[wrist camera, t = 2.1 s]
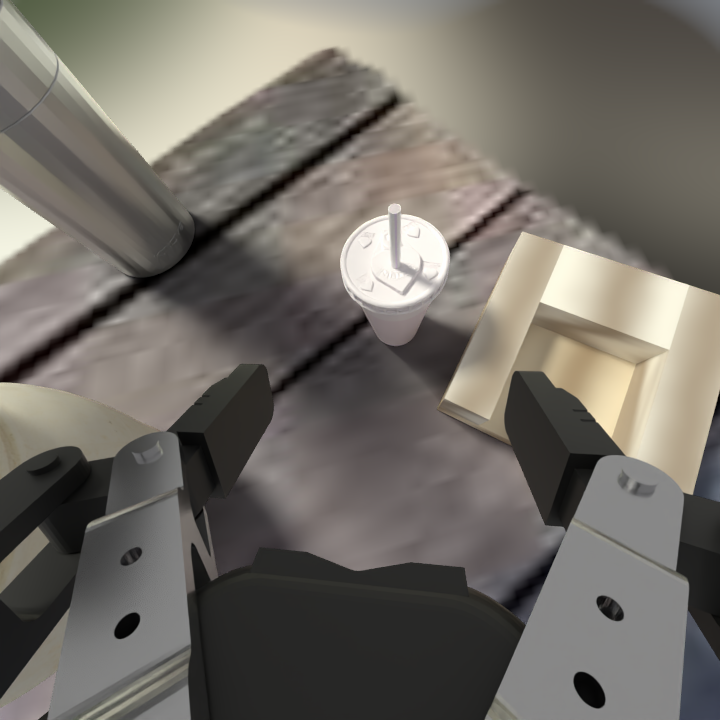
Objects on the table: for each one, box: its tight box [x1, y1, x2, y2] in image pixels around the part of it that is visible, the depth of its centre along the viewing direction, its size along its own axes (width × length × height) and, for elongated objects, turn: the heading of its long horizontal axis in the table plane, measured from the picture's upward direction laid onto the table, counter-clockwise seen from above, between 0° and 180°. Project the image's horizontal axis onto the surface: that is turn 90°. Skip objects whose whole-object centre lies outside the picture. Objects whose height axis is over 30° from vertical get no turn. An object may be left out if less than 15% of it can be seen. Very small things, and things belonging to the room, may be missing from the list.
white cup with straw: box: [340, 204, 450, 346], centre depth 21 cm, size 6×6×14 cm
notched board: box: [437, 232, 720, 495], centre depth 23 cm, size 14×14×4 cm
